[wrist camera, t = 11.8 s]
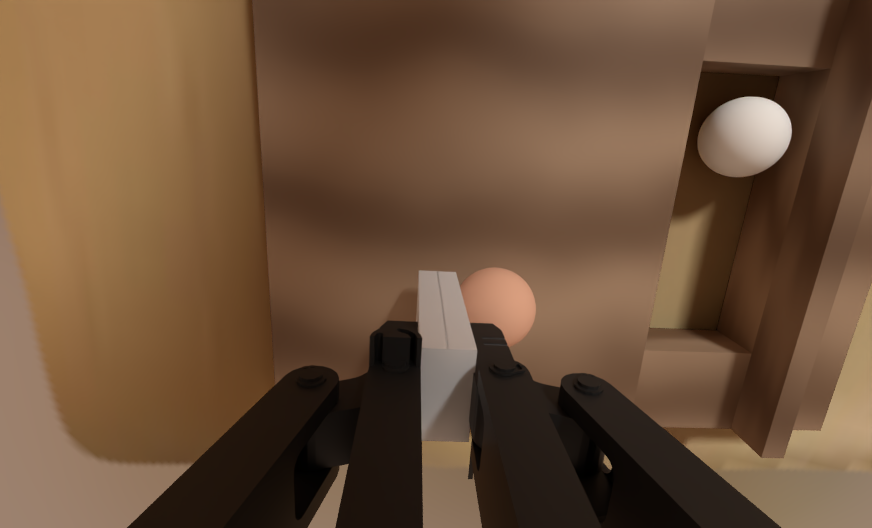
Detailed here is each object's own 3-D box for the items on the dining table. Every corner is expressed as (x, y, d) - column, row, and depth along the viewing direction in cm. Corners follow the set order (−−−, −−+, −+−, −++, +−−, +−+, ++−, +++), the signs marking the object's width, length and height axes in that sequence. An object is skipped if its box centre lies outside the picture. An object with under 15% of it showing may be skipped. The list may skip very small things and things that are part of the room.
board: (270, -69, 17) (220, -136, 13) (910, -22, 18) (1061, -69, 14) (292, 388, 23) (262, 448, 18) (780, 400, 24) (859, 459, 20)
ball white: (706, 93, 17) (809, 93, 16) (706, 98, 20) (795, 99, 18) (688, 176, 18) (784, 184, 17) (691, 171, 21) (774, 177, 19)
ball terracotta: (446, 274, 16) (537, 290, 15) (468, 252, 19) (544, 264, 18) (440, 354, 17) (524, 372, 16) (461, 321, 20) (533, 335, 19)
